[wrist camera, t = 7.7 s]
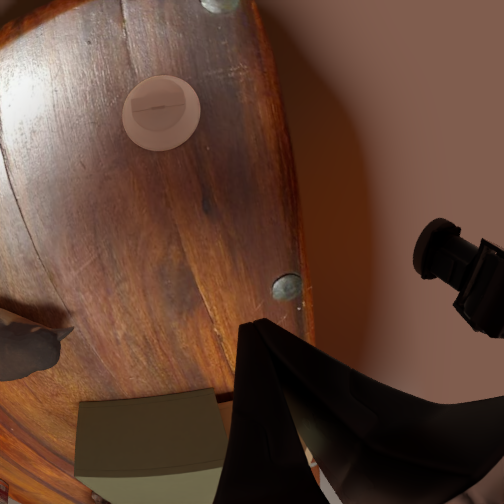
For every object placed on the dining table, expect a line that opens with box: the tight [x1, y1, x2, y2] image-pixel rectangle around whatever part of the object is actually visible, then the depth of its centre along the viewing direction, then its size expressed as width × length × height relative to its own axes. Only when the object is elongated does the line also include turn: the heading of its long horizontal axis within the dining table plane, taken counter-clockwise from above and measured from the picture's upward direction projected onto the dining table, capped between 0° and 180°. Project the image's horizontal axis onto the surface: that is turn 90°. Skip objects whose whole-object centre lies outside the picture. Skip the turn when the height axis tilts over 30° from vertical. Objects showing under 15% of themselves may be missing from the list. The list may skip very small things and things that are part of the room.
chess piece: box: [122, 75, 201, 151], centre depth 12 cm, size 5×5×10 cm
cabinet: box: [74, 388, 228, 504], centre depth 24 cm, size 15×13×9 cm
